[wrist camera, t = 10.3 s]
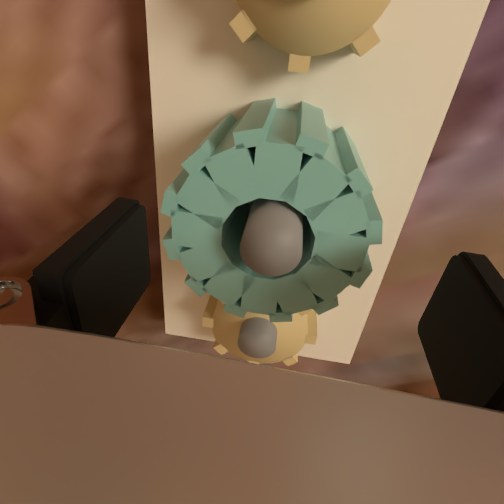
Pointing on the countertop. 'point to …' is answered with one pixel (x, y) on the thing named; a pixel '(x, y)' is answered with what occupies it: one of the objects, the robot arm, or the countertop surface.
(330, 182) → the loose gear
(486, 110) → the countertop surface
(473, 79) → the countertop surface
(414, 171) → the gear board
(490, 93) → the countertop surface
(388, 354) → the countertop surface
